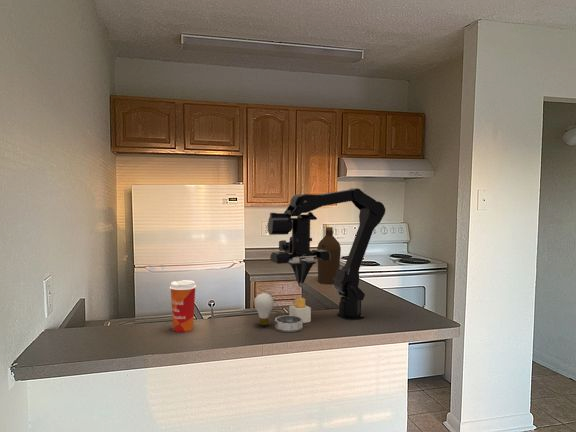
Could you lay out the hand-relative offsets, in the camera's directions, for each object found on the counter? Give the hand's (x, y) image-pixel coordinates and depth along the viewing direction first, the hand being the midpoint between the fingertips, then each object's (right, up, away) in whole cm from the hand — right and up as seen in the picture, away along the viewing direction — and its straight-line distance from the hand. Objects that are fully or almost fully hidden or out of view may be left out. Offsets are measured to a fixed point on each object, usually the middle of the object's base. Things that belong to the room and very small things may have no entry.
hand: (300, 283), depth 134 cm
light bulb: (-11, -12, -5) cm, 17 cm away
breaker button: (0, -8, 0) cm, 8 cm away
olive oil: (+14, -9, +59) cm, 61 cm away
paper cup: (-35, -12, -9) cm, 38 cm away
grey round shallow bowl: (-4, -12, -7) cm, 14 cm away
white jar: (0, -12, +1) cm, 12 cm away
